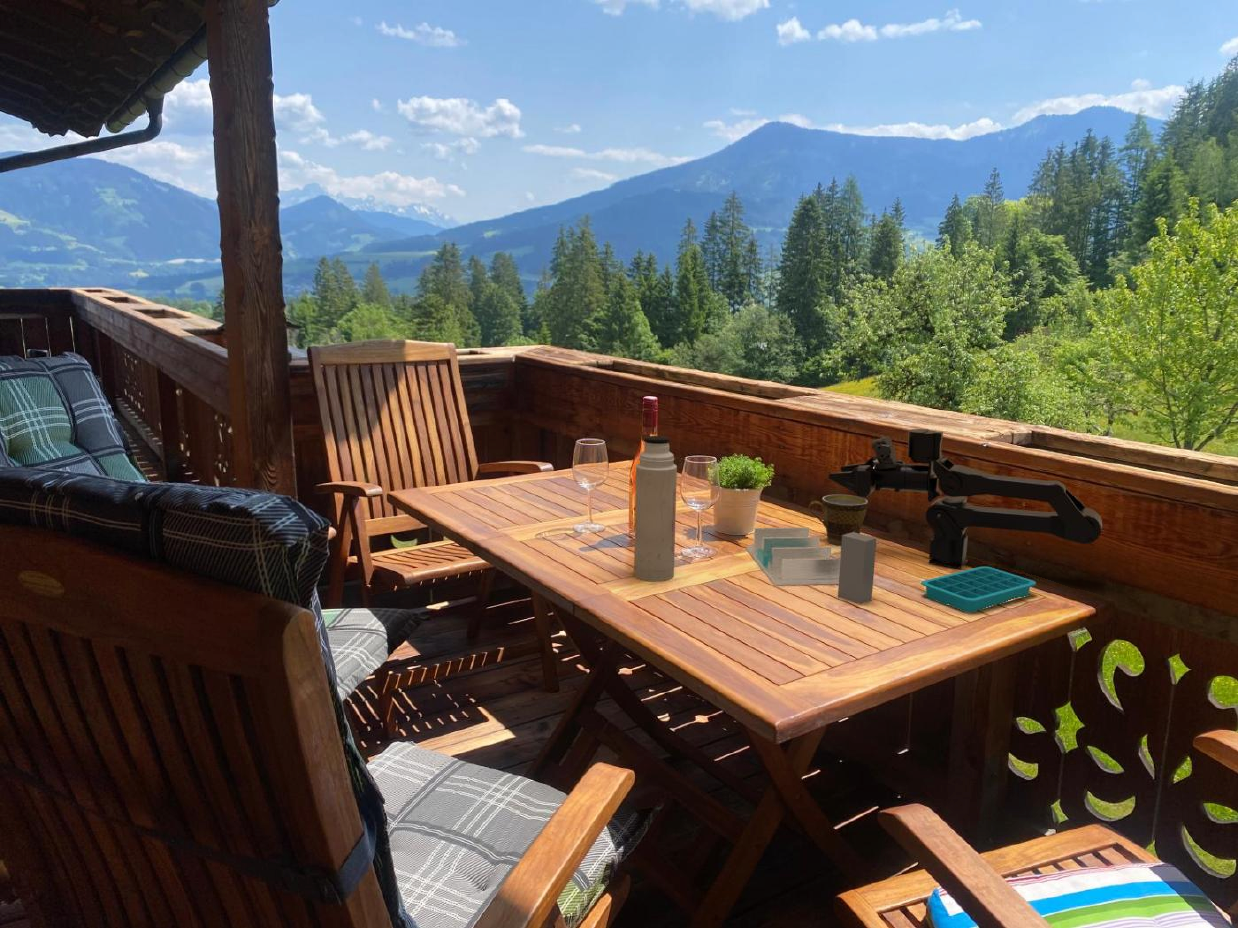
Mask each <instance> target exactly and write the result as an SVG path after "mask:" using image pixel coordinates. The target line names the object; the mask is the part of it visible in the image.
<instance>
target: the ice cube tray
mask: <svg viewBox="0 0 1238 928" xmlns="http://www.w3.org/2000/svg"><path fill="white" fill-rule="evenodd" d="M920 584H921V585H922V586H923V587H925V596H926V598H927V597H928V598H927V599H930V598H931V599H930V600H933V599H934V600H933V601H935V600H937V601H936V602H938V601H939V602H938V603H941V604H943V603H944V605H946V604H949V605H951V606H954V607H956V608H955V609H957V608H959V609H961V610H960V611H962V610H963V611H962V612H965V611H966V612H965V613H975V611H976V612H978V611H977V610H979V611H982V610H984V609H983V608H986V607H989V606H992V605H995V604H1000V603H1003V602H1006V601H1008V600H1011V599H1014V598H1018V597H1024V596H1027V595H1028V594H1030V589H1031V587H1035V586H1036V585H1037V581H1035V580H1032V579H1029V578H1025V577H1022V576H1019V575H1016V574H1013V573H1010V572H1007V571H1004V570H1000V569H996V568H994V567H992V566H978V567H974V568H969V569H967V570H962V571H958V572H953V573H950V574H946V575H942V576H941V575H940V576H937V577H933V578H930V579H924V580H922V581H921V582H920ZM1028 596H1029V595H1028ZM1028 596H1027V597H1028ZM1024 598H1025V597H1024ZM1003 604H1004V603H1003ZM949 605H948V606H949ZM1000 605H1001V604H1000ZM951 606H950V607H951ZM954 607H953V608H954ZM989 608H990V607H989ZM959 609H958V610H959ZM981 609H982V610H981ZM986 609H987V608H986Z"/></svg>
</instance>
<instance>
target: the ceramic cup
mask: <svg viewBox="0 0 1238 928" xmlns="http://www.w3.org/2000/svg"><path fill="white" fill-rule="evenodd" d="M868 503H869V501H868V500H867V499H866V498H865V497H858V496H857V495H850V494H828V495H825V496H823V497H822V502H820V501H818V500H814V501H811V502H810V503H809V505H808V511H809V512H810V513H811V514H812V515H813V516H814V517H816V518H817V519H818V520H819V522H821V523H822V525H823V527H824V528H825V531H826V539H827V542H828V544H832V545H836V546H839V547H841V544H842V535H845V534H848V533H852V532H855V533H859V534H861V531H862V526H863V522H864V519H865V517H866V512H867V509H868ZM812 505H818V506H819V507H820V508H821V510H822V512H823V514H824V520H823V519H821V518H820V516H819V515H818V514H816V513H815V512H814V511H812V509H811V506H812Z"/></svg>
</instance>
